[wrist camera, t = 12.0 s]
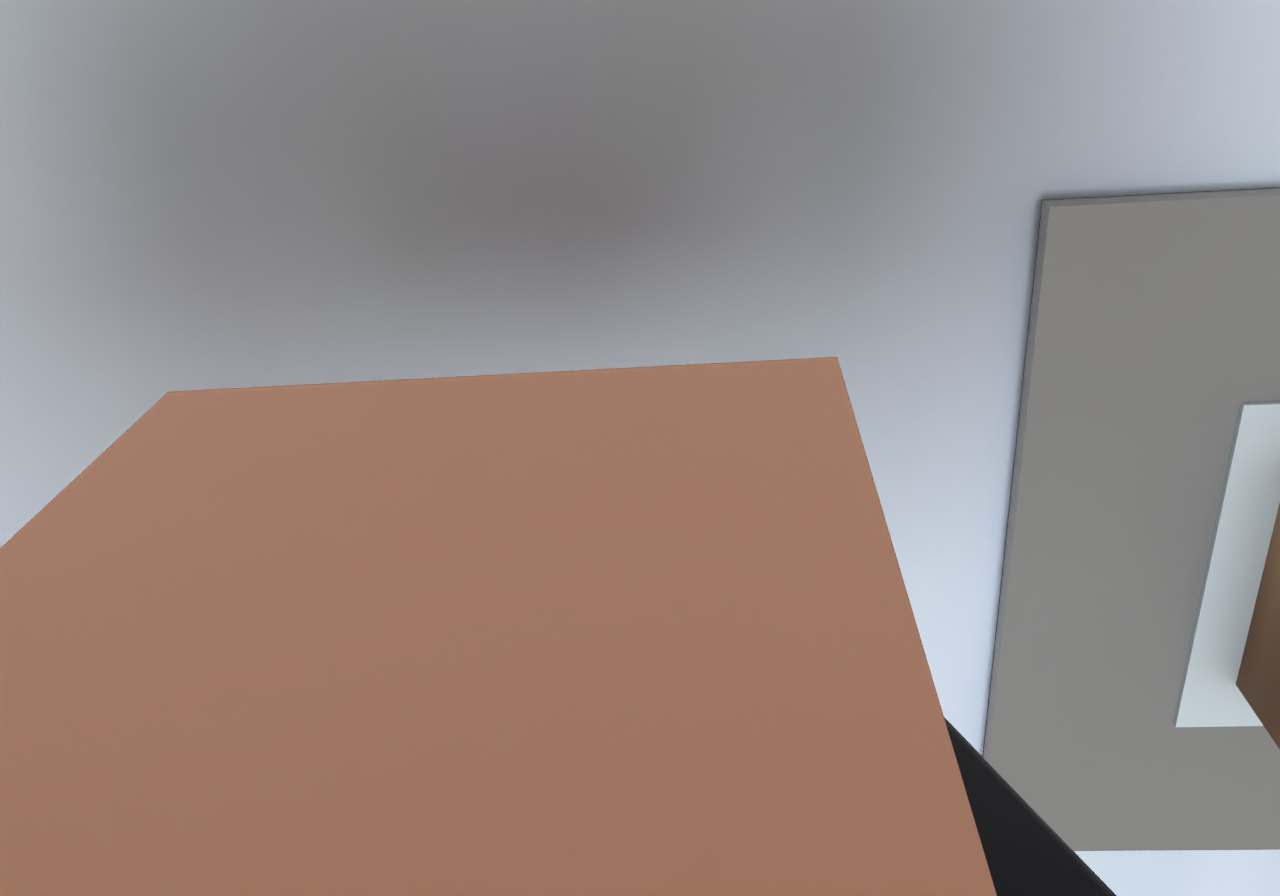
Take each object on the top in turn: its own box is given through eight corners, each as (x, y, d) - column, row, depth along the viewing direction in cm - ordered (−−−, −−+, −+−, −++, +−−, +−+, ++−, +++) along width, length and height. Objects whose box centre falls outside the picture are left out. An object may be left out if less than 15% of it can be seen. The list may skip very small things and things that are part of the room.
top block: (834, 853, 10) (940, 1627, 5) (313, 861, 10) (21, 1588, 6) (836, 357, 8) (1025, 992, 3) (168, 391, 8) (-488, 1003, 4)
